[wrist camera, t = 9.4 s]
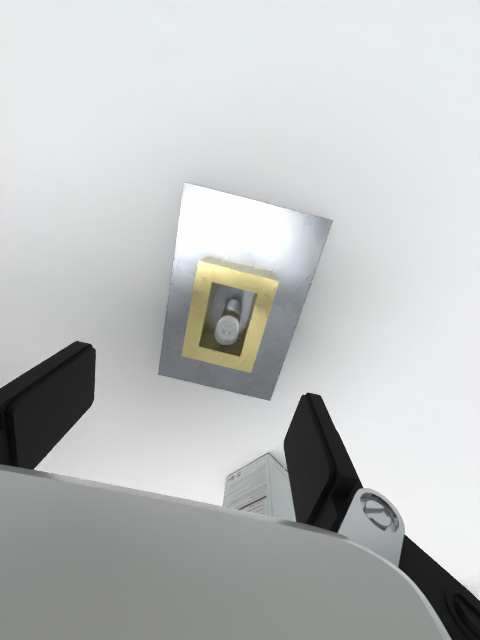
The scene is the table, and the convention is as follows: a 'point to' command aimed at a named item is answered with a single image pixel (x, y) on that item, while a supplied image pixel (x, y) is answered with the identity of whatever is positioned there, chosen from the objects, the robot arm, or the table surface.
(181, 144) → the table surface
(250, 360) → the hollow rectangular wooden block
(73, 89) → the table surface
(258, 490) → the supplement box
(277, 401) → the table surface
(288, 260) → the keeper plate
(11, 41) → the table surface
